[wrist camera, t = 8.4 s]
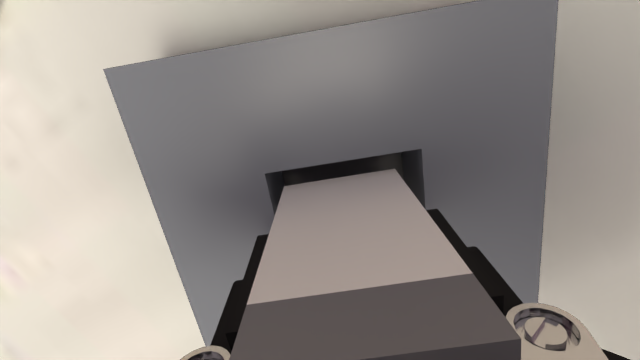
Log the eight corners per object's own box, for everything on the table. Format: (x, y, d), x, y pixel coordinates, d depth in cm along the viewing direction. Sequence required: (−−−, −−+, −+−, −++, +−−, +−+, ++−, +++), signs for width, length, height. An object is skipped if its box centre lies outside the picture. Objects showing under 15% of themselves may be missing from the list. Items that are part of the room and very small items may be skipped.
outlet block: (488, 6, 14) (559, -15, 10) (487, 283, 19) (534, 348, 15) (164, 64, 15) (103, 69, 11) (242, 315, 20) (220, 386, 16)
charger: (394, 168, 12) (521, 338, 4) (404, 265, 13) (517, 529, 6) (284, 186, 12) (223, 376, 5) (304, 280, 13) (281, 553, 6)
